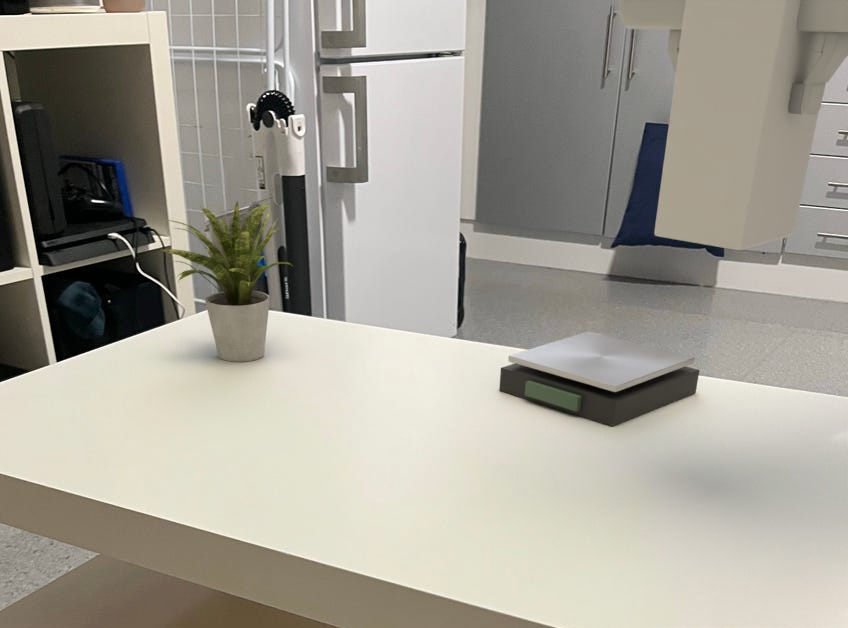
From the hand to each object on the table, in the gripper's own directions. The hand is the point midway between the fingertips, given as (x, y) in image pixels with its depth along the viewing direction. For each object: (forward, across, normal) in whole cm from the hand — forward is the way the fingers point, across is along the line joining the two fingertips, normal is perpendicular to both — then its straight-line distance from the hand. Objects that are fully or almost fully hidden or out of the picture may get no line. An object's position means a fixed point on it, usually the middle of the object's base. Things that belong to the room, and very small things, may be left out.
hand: (743, 109), depth 69 cm
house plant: (+27, +54, +5) cm, 61 cm away
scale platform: (+24, +18, -13) cm, 33 cm away
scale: (+27, +18, -13) cm, 35 cm away
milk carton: (+8, 0, 0) cm, 8 cm away
